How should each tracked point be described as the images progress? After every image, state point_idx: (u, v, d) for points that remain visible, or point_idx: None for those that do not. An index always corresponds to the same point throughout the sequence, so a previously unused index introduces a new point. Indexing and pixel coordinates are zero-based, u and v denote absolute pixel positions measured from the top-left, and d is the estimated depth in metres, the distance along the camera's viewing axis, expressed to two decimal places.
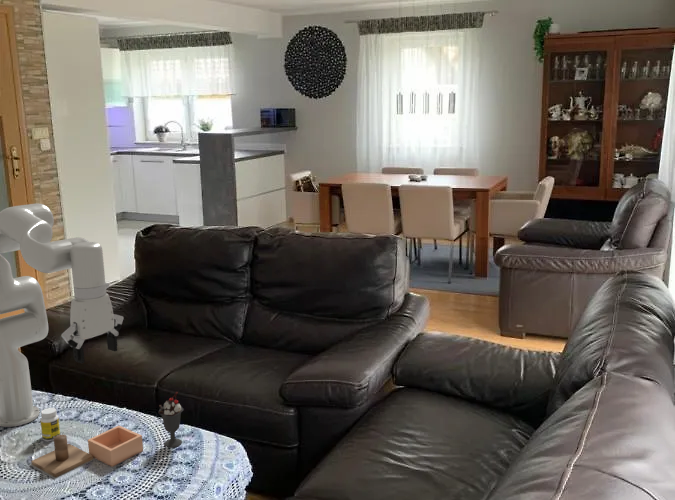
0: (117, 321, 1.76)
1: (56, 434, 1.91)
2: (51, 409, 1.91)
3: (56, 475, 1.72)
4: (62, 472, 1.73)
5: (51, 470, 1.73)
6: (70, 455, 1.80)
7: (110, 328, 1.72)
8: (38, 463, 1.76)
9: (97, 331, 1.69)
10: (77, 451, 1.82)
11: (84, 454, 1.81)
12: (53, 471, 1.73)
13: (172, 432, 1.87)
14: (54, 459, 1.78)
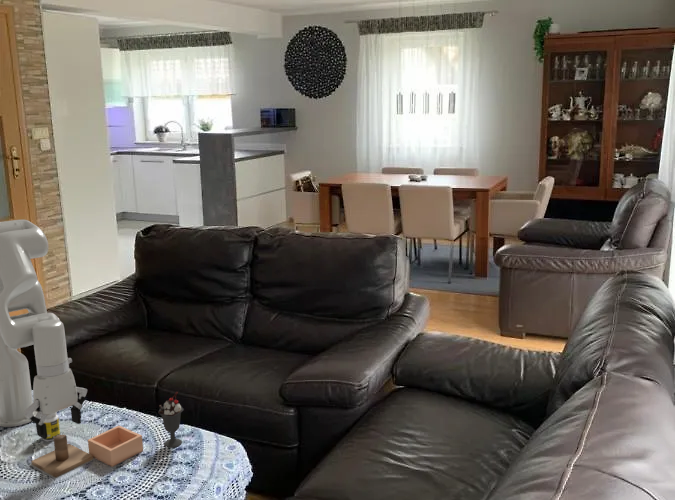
0: (81, 394, 1.80)
1: (56, 434, 1.91)
2: None
3: (56, 475, 1.72)
4: (62, 472, 1.73)
5: (51, 470, 1.73)
6: (70, 455, 1.80)
7: (73, 402, 1.77)
8: (38, 463, 1.76)
9: (60, 406, 1.73)
10: (77, 451, 1.82)
11: (84, 454, 1.81)
12: (53, 471, 1.73)
13: (172, 432, 1.87)
14: (54, 459, 1.78)
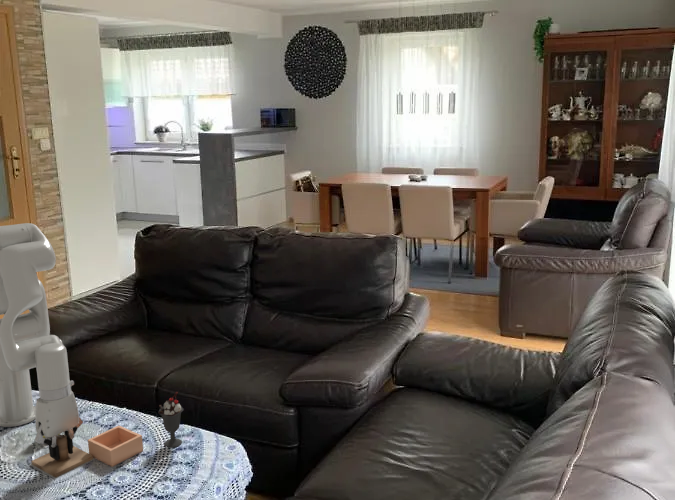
0: None
1: None
2: None
3: (56, 475, 1.72)
4: (62, 472, 1.73)
5: (51, 470, 1.73)
6: (70, 455, 1.80)
7: (75, 424, 1.78)
8: (38, 463, 1.76)
9: (61, 429, 1.75)
10: (77, 451, 1.82)
11: (84, 454, 1.81)
12: (53, 471, 1.73)
13: (172, 432, 1.87)
14: (54, 459, 1.78)
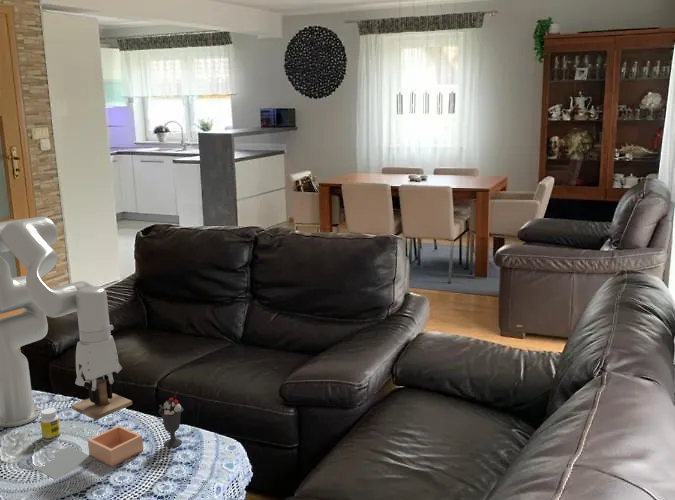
0: None
1: (56, 434, 1.91)
2: (51, 409, 1.91)
3: (96, 417, 1.72)
4: (102, 415, 1.73)
5: (91, 413, 1.73)
6: (109, 400, 1.80)
7: (114, 369, 1.78)
8: (78, 407, 1.76)
9: (101, 372, 1.75)
10: (116, 397, 1.82)
11: (123, 400, 1.80)
12: (93, 414, 1.72)
13: (172, 432, 1.87)
14: (94, 404, 1.78)
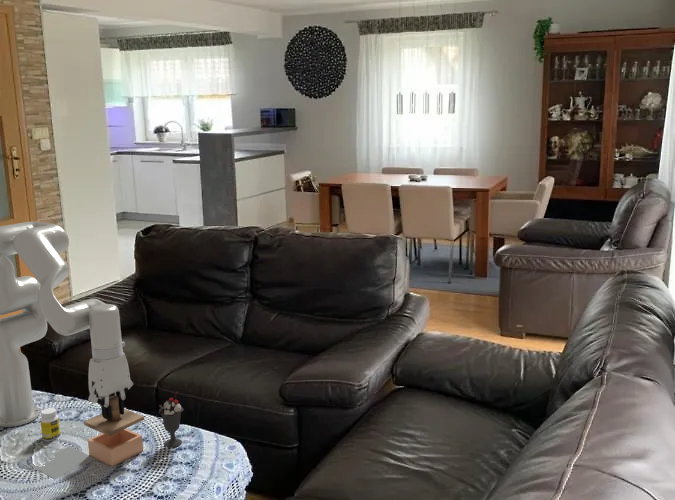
0: None
1: (56, 434, 1.91)
2: (51, 409, 1.91)
3: (110, 434, 1.74)
4: (115, 431, 1.75)
5: (105, 429, 1.75)
6: (121, 416, 1.82)
7: (126, 385, 1.80)
8: (91, 423, 1.78)
9: (114, 389, 1.77)
10: (128, 412, 1.84)
11: (135, 415, 1.82)
12: (107, 430, 1.74)
13: (172, 432, 1.87)
14: (106, 420, 1.80)
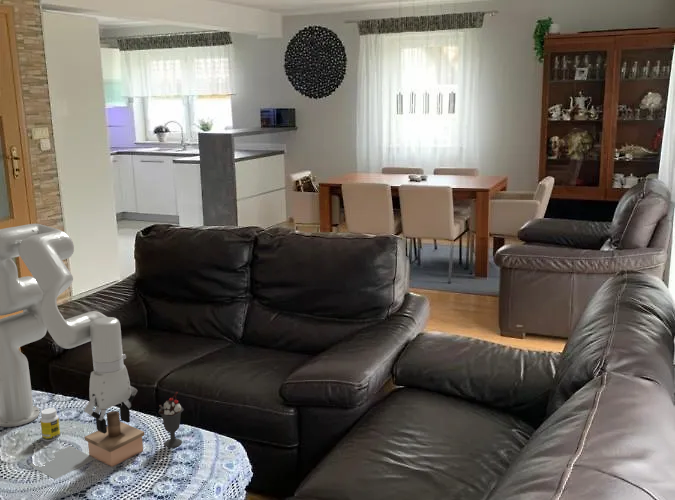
0: (131, 393, 1.85)
1: (56, 434, 1.91)
2: (51, 409, 1.91)
3: (111, 450, 1.75)
4: (116, 447, 1.76)
5: (105, 445, 1.76)
6: (122, 431, 1.84)
7: (127, 397, 1.81)
8: (91, 439, 1.79)
9: (115, 401, 1.78)
10: (128, 428, 1.85)
11: (135, 430, 1.84)
12: (107, 446, 1.76)
13: (172, 432, 1.87)
14: (107, 435, 1.81)
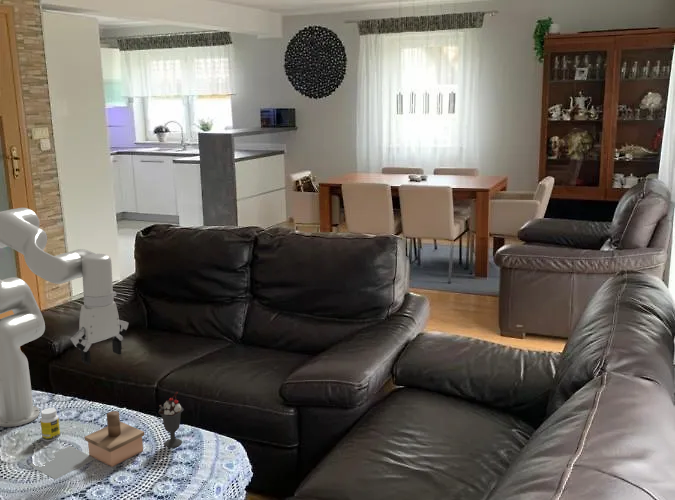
0: (122, 326, 1.90)
1: (56, 434, 1.91)
2: (51, 409, 1.91)
3: (111, 450, 1.75)
4: (116, 447, 1.76)
5: (105, 445, 1.76)
6: (122, 431, 1.84)
7: (115, 333, 1.87)
8: (91, 439, 1.79)
9: (103, 336, 1.83)
10: (128, 428, 1.85)
11: (135, 430, 1.84)
12: (107, 446, 1.76)
13: (172, 432, 1.87)
14: (107, 435, 1.81)
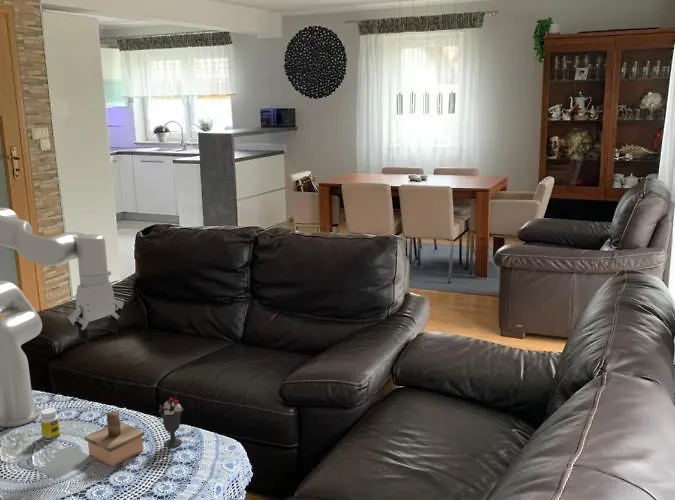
0: (118, 306, 1.96)
1: (56, 434, 1.91)
2: (51, 409, 1.91)
3: (111, 450, 1.75)
4: (116, 447, 1.76)
5: (105, 445, 1.76)
6: (122, 431, 1.84)
7: (112, 312, 1.92)
8: (91, 439, 1.79)
9: (100, 314, 1.89)
10: (128, 428, 1.85)
11: (135, 430, 1.84)
12: (107, 446, 1.76)
13: (172, 432, 1.87)
14: (107, 435, 1.81)
